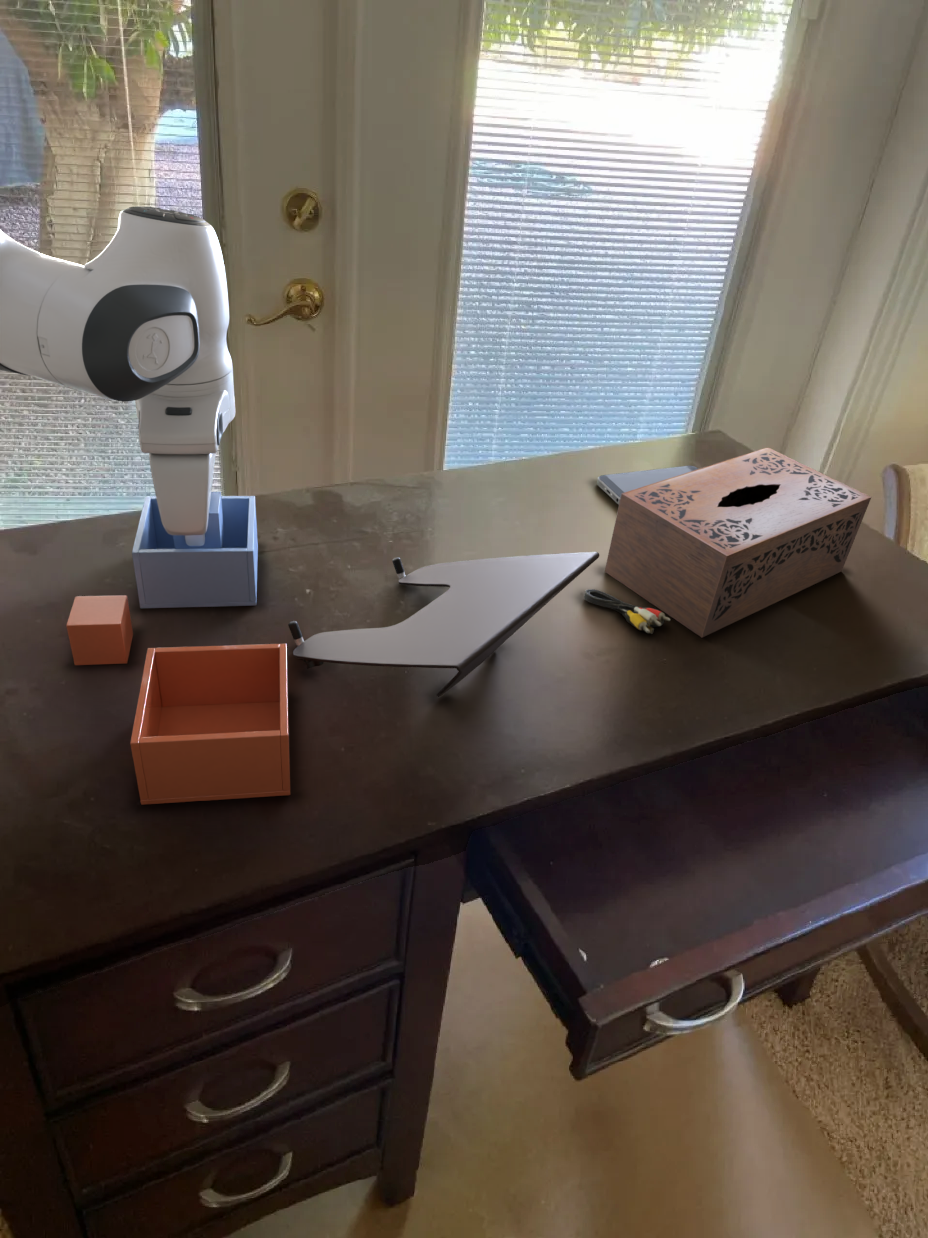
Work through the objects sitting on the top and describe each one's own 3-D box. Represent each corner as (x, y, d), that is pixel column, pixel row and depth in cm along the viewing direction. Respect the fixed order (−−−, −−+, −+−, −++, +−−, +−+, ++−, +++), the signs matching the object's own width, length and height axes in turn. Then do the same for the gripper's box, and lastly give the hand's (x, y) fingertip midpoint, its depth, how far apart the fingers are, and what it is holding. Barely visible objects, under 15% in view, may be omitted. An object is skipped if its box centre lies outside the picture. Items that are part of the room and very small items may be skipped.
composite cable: (578, 599, 96) (581, 580, 95) (608, 586, 99) (612, 567, 97) (646, 646, 90) (651, 626, 89) (676, 631, 93) (681, 612, 91)
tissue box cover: (701, 637, 92) (726, 556, 86) (604, 571, 101) (621, 493, 95) (841, 571, 106) (871, 496, 100) (745, 518, 115) (767, 447, 109)
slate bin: (140, 608, 88) (131, 552, 84) (152, 548, 97) (145, 495, 93) (256, 605, 90) (253, 551, 86) (257, 547, 99) (255, 495, 95)
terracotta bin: (141, 805, 68) (130, 743, 64) (156, 707, 77) (147, 647, 73) (290, 795, 70) (288, 735, 66) (288, 701, 79) (286, 643, 75)
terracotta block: (74, 665, 80) (66, 625, 77) (83, 635, 84) (75, 596, 81) (127, 663, 81) (120, 624, 78) (133, 634, 84) (127, 595, 82)
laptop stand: (438, 620, 101) (414, 545, 97) (616, 619, 86) (594, 530, 83) (294, 725, 85) (260, 639, 82) (483, 746, 70) (449, 642, 67)
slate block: (175, 553, 88) (170, 513, 86) (179, 530, 92) (174, 491, 89) (221, 552, 89) (218, 513, 87) (223, 529, 93) (220, 491, 90)
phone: (622, 509, 113) (724, 496, 119) (624, 502, 113) (726, 489, 119) (593, 482, 119) (692, 470, 125) (595, 475, 118) (694, 464, 124)
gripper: (160, 356, 89) (174, 479, 97) (135, 444, 73) (154, 583, 81) (225, 357, 90) (234, 479, 99) (215, 445, 74) (226, 582, 82)
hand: (198, 527), depth 90 cm, fingers closed on slate block, 4 cm apart
